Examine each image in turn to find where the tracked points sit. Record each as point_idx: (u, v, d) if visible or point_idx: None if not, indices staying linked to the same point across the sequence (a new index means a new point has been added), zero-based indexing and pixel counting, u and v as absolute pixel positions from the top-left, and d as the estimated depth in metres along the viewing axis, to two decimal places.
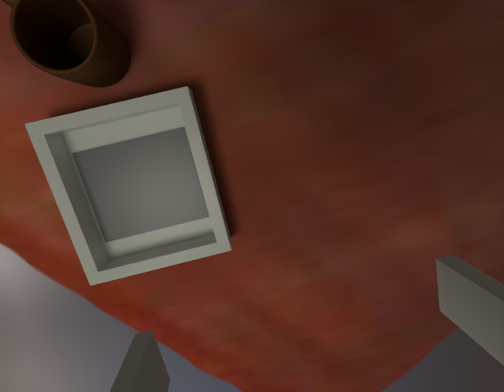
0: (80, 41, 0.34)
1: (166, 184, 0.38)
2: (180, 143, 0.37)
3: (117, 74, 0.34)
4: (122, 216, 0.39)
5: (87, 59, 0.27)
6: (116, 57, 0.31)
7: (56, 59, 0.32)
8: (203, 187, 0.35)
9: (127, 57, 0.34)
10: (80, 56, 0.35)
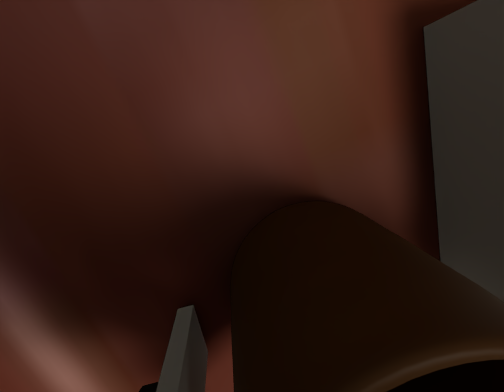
0: None
1: None
2: None
3: None
4: None
5: None
6: (396, 237, 0.09)
7: None
8: None
9: (331, 204, 0.12)
10: None
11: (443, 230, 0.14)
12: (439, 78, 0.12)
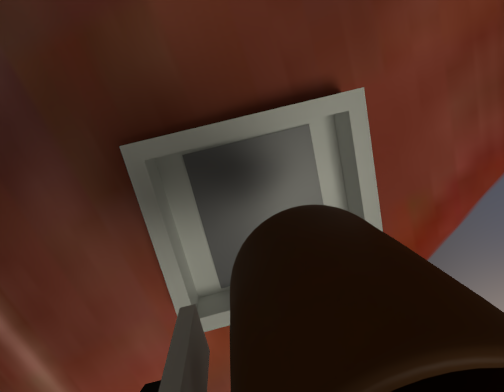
0: None
1: (260, 181, 0.28)
2: (204, 160, 0.27)
3: None
4: None
5: None
6: (391, 241, 0.09)
7: None
8: (263, 128, 0.24)
9: (328, 207, 0.12)
10: None
11: None
12: None
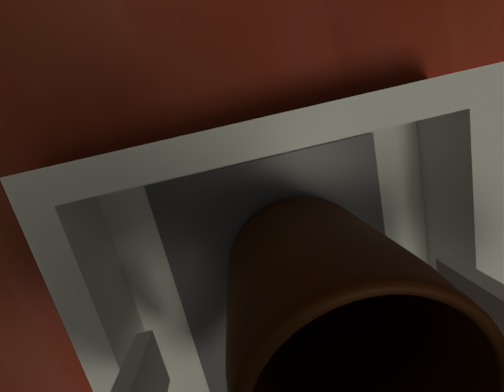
0: None
1: None
2: (185, 196, 0.15)
3: None
4: None
5: (481, 317, 0.07)
6: (356, 221, 0.11)
7: (339, 349, 0.14)
8: (298, 142, 0.12)
9: (311, 198, 0.14)
10: None
11: None
12: None
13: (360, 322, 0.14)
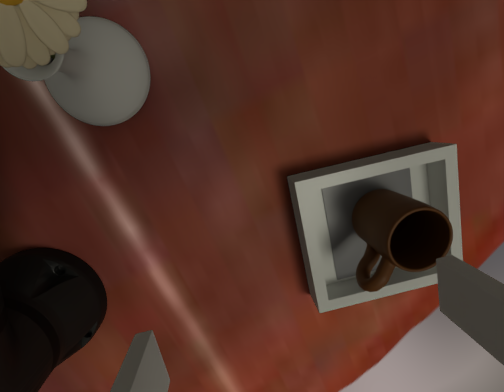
0: None
1: None
2: (336, 189, 0.39)
3: None
4: None
5: (444, 216, 0.31)
6: None
7: (397, 245, 0.38)
8: (388, 170, 0.36)
9: None
10: None
11: None
12: (291, 193, 0.39)
13: (405, 236, 0.38)
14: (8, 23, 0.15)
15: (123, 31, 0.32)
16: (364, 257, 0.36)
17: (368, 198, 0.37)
